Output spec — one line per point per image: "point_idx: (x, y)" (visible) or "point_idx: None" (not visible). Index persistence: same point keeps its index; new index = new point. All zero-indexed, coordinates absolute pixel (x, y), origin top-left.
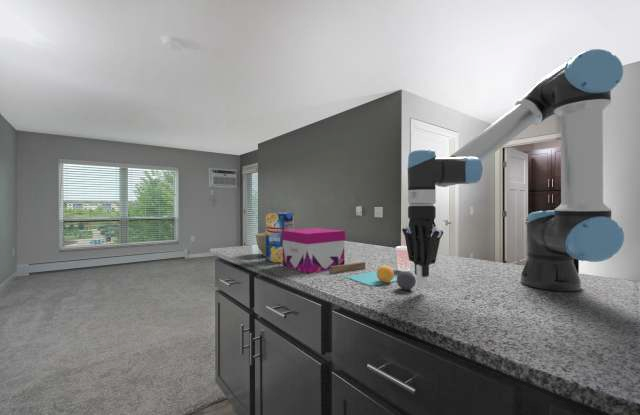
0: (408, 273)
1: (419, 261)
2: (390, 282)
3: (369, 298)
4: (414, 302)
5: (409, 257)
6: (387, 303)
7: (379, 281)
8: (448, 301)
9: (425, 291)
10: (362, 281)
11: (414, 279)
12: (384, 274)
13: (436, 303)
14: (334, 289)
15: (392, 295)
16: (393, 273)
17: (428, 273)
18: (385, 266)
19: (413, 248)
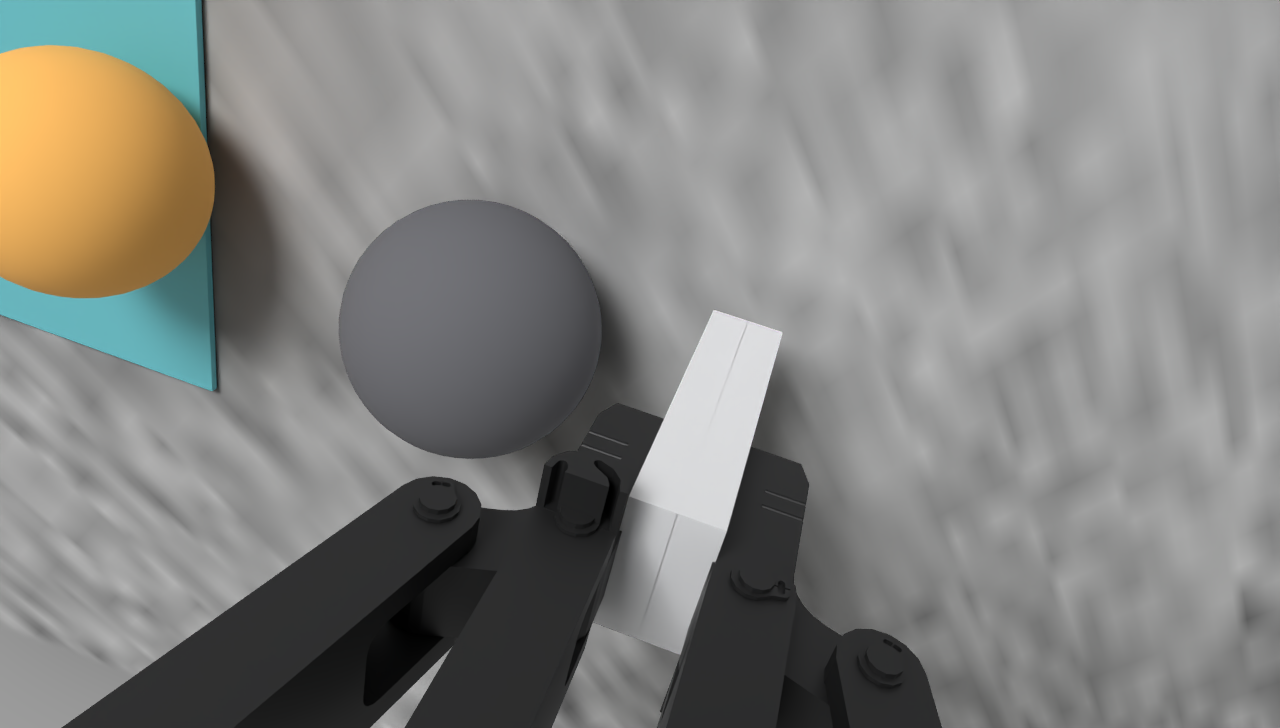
0: (480, 421)
1: (594, 606)
2: (204, 106)
3: None
4: None
5: (386, 632)
6: (647, 724)
7: None
8: (1116, 432)
9: (732, 206)
10: (45, 304)
11: (580, 354)
12: (142, 284)
13: (1008, 554)
14: (147, 617)
15: None
16: (144, 135)
17: (802, 503)
18: (3, 240)
19: (305, 726)
